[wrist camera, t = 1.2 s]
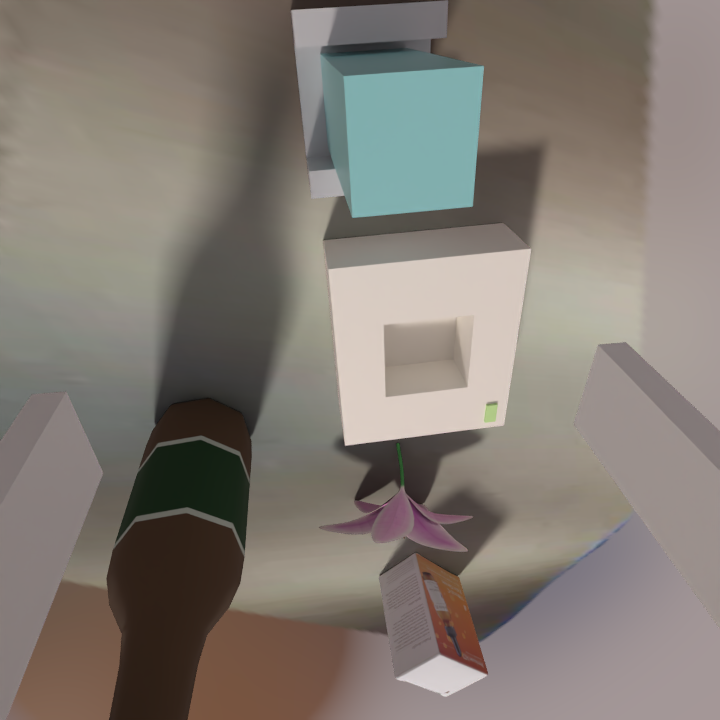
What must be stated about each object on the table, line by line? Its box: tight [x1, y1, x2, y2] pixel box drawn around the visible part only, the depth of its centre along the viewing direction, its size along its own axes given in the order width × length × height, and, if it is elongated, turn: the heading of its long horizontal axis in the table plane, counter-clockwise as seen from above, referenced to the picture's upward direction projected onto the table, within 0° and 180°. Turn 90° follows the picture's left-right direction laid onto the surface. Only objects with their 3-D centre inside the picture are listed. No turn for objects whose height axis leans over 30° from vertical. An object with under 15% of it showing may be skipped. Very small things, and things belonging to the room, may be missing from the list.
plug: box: [320, 48, 484, 218], centre depth 22 cm, size 4×4×12 cm
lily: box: [319, 443, 473, 552], centre depth 42 cm, size 12×12×10 cm
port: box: [323, 223, 531, 446], centre depth 34 cm, size 14×12×5 cm
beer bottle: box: [107, 398, 252, 720], centre depth 30 cm, size 8×8×24 cm
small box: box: [379, 553, 488, 697], centre depth 51 cm, size 8×6×10 cm
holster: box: [290, 0, 448, 199], centre depth 26 cm, size 8×7×4 cm
